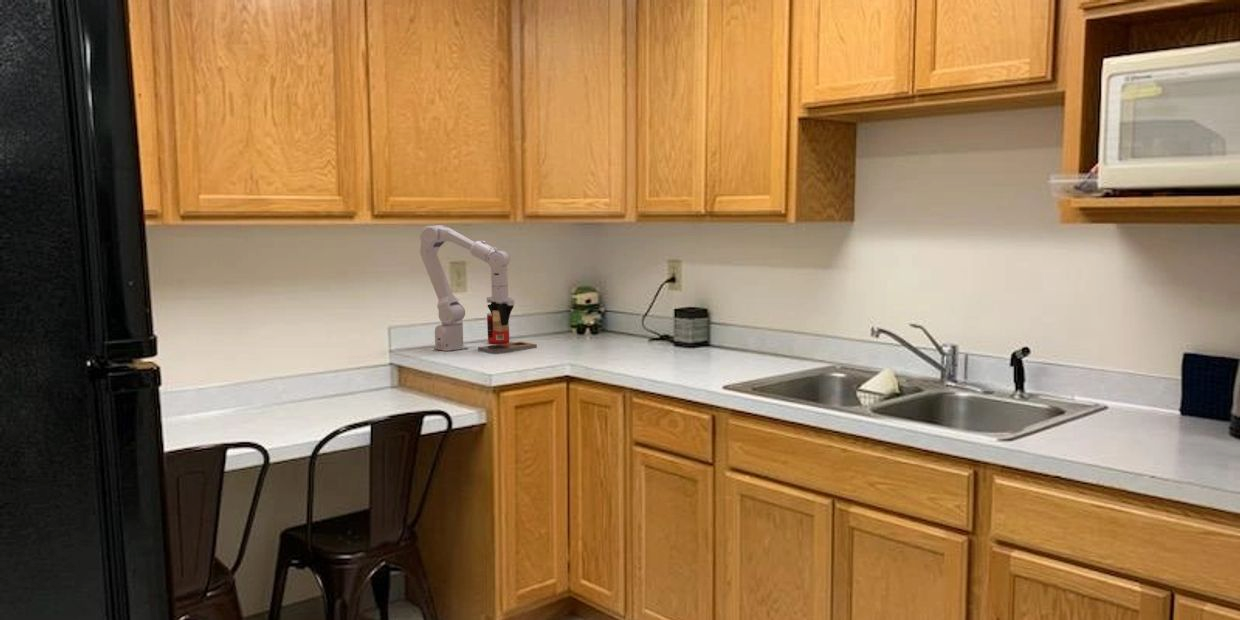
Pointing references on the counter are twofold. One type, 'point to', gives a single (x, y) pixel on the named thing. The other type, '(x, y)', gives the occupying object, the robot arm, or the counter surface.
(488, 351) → the rail plate
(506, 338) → the canned food
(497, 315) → the birch peg
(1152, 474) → the counter surface
